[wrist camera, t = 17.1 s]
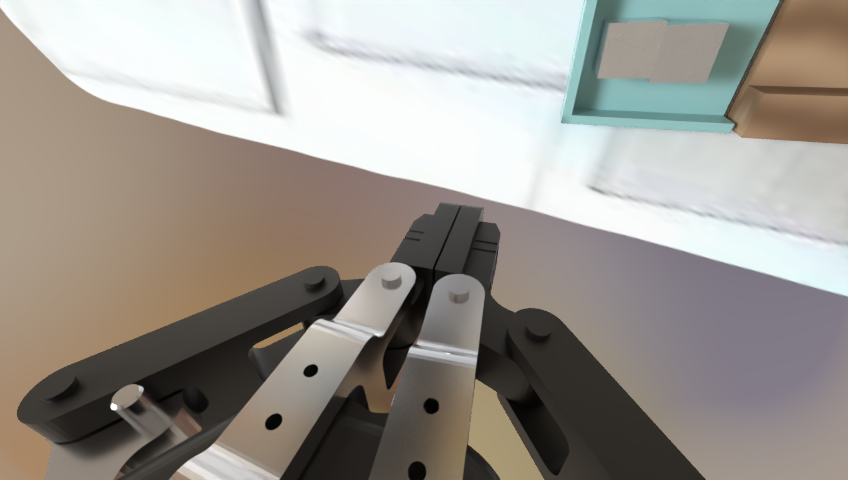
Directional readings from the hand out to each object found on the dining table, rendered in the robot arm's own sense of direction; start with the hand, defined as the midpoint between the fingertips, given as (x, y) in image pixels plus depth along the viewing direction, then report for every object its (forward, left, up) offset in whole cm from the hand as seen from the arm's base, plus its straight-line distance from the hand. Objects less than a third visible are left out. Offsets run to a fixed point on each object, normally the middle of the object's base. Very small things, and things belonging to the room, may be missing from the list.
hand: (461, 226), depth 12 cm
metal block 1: (-2, +8, -28) cm, 30 cm away
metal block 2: (-2, +12, -28) cm, 31 cm away
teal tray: (-3, +12, -29) cm, 31 cm away
